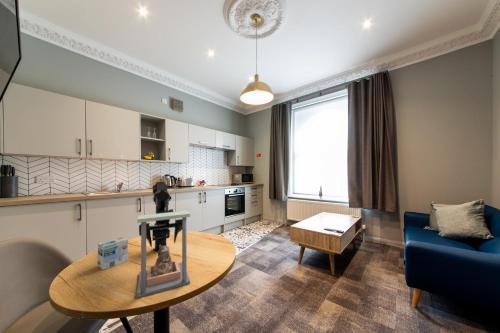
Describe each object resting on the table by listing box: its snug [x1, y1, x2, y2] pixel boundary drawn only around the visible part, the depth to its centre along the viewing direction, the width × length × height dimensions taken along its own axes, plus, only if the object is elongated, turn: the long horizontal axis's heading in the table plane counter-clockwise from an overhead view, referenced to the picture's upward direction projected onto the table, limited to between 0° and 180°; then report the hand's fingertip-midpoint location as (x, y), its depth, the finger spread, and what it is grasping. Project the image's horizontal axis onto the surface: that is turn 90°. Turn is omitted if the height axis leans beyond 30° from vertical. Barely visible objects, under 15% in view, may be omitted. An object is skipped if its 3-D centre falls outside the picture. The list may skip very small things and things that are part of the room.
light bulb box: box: [97, 237, 129, 271], centre depth 91 cm, size 11×7×11 cm, turn 148°
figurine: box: [154, 245, 173, 277], centre depth 78 cm, size 7×7×12 cm
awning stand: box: [136, 210, 191, 299], centre depth 78 cm, size 18×18×27 cm
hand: (163, 244), depth 81 cm, fingers open, 9 cm apart
